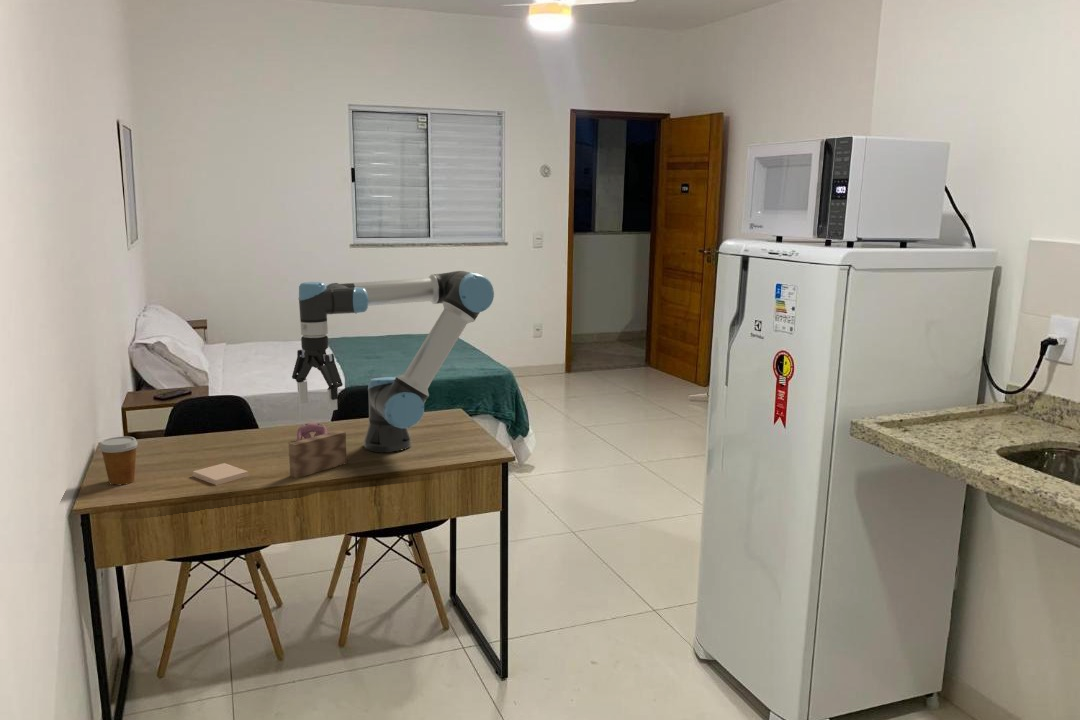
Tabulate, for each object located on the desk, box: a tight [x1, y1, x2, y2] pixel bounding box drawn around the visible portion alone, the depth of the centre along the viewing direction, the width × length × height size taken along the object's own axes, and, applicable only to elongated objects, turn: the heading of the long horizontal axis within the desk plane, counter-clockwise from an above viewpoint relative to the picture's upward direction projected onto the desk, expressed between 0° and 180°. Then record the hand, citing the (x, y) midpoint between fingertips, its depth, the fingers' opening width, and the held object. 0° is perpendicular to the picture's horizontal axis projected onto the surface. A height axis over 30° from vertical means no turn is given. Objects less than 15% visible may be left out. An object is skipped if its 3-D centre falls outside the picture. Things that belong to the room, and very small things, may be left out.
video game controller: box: [296, 422, 328, 441], centre depth 266 cm, size 10×5×7 cm, turn 101°
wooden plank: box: [288, 429, 348, 479], centre depth 236 cm, size 18×3×10 cm, turn 142°
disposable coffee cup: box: [99, 436, 139, 485], centre depth 222 cm, size 10×10×12 cm
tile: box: [192, 462, 249, 486], centre depth 229 cm, size 2×12×10 cm
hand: (318, 406), depth 235 cm, fingers open, 13 cm apart
